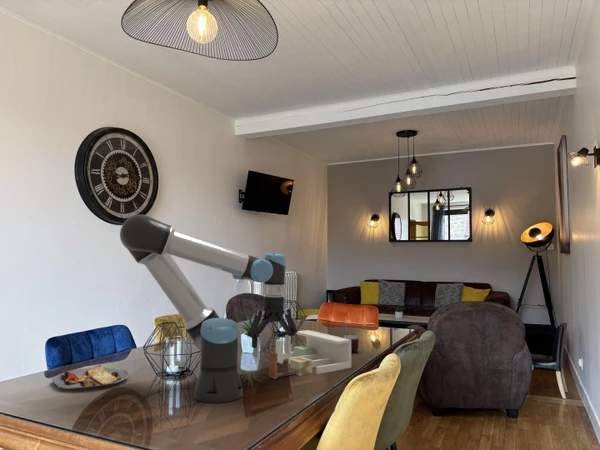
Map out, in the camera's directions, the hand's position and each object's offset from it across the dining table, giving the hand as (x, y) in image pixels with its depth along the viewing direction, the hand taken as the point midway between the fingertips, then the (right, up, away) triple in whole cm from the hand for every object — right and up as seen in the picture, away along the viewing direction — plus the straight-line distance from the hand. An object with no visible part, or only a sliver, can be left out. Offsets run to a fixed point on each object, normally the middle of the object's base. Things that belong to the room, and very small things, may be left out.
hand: (272, 355), depth 168 cm
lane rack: (+15, -10, +22) cm, 28 cm away
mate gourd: (+33, -11, +44) cm, 56 cm away
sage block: (+8, -10, +27) cm, 30 cm away
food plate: (-63, -8, -6) cm, 64 cm away
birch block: (+6, -9, +4) cm, 12 cm away
